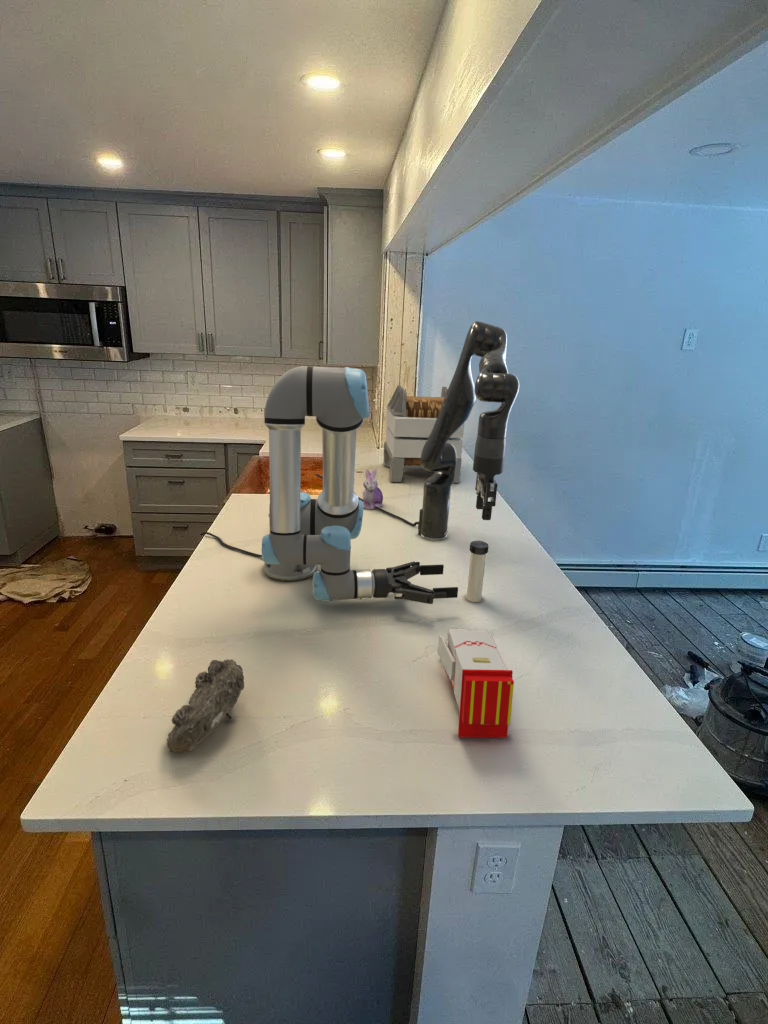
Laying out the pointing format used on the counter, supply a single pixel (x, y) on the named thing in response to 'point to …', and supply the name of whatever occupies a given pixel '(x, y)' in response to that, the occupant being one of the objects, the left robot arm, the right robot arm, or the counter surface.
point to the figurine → (371, 491)
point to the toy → (478, 682)
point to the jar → (475, 577)
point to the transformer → (413, 431)
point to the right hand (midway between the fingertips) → (482, 514)
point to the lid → (479, 547)
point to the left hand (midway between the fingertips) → (450, 580)
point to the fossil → (206, 705)
